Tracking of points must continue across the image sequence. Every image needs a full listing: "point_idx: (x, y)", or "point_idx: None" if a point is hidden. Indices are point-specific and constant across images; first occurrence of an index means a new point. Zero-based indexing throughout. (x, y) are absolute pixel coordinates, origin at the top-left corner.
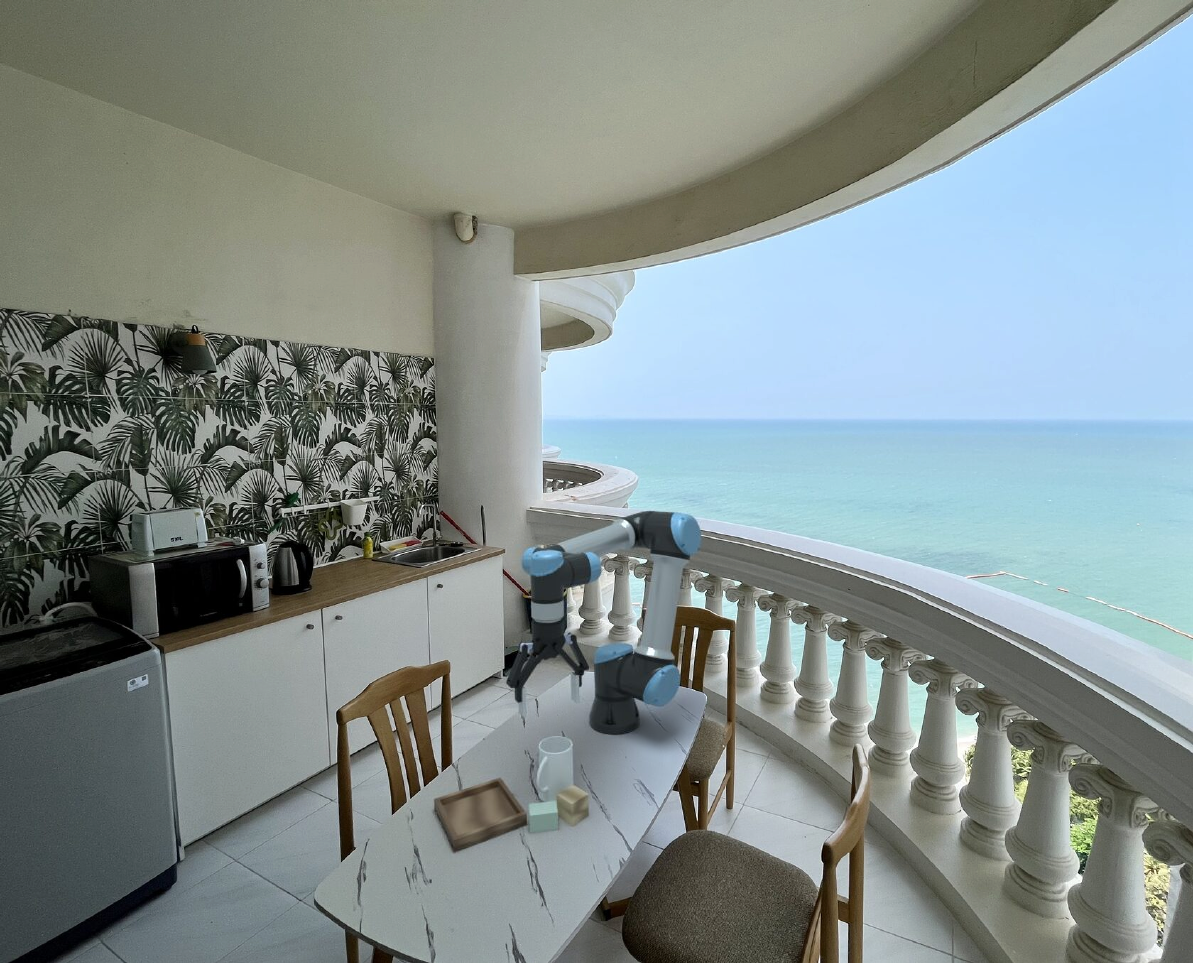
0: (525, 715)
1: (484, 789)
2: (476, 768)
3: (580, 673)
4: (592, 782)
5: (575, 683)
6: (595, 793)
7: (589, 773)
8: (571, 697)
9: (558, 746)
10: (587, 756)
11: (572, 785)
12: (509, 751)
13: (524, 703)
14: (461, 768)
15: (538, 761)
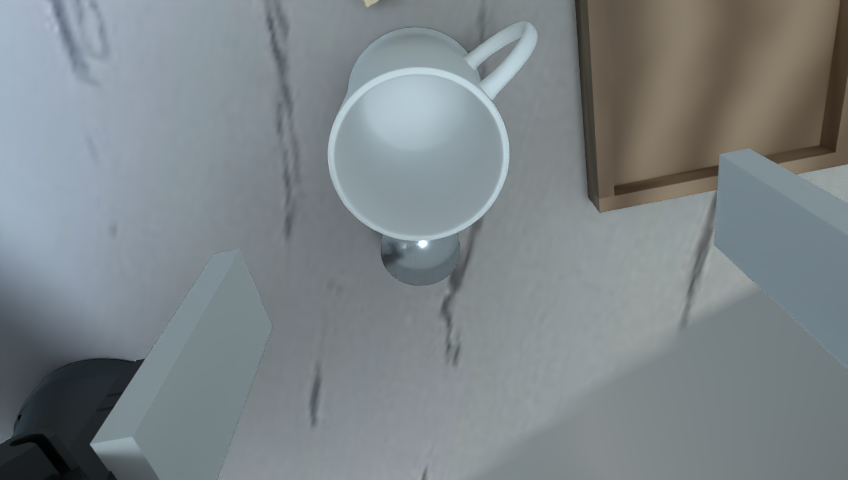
0: (736, 155)
1: (660, 179)
2: (626, 317)
3: (46, 466)
4: (268, 119)
5: (182, 375)
6: (271, 46)
7: (269, 176)
8: (267, 331)
9: (388, 206)
10: (256, 273)
11: (370, 1)
12: (504, 370)
13: (819, 200)
14: (668, 330)
15: (457, 235)
